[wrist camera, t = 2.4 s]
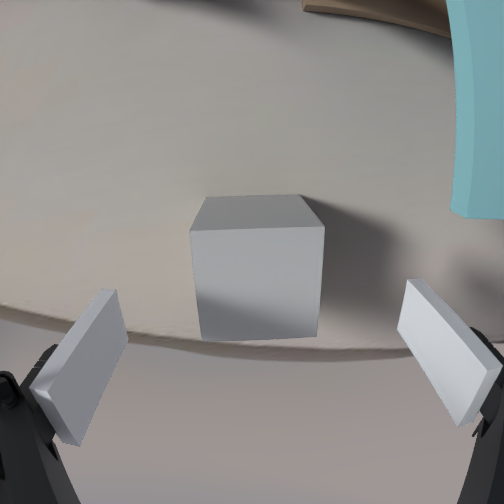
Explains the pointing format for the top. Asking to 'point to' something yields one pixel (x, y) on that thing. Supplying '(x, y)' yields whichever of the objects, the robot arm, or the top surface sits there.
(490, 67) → the trapdoor
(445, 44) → the top surface
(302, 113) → the top surface
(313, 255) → the plain grey cube
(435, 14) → the stand
